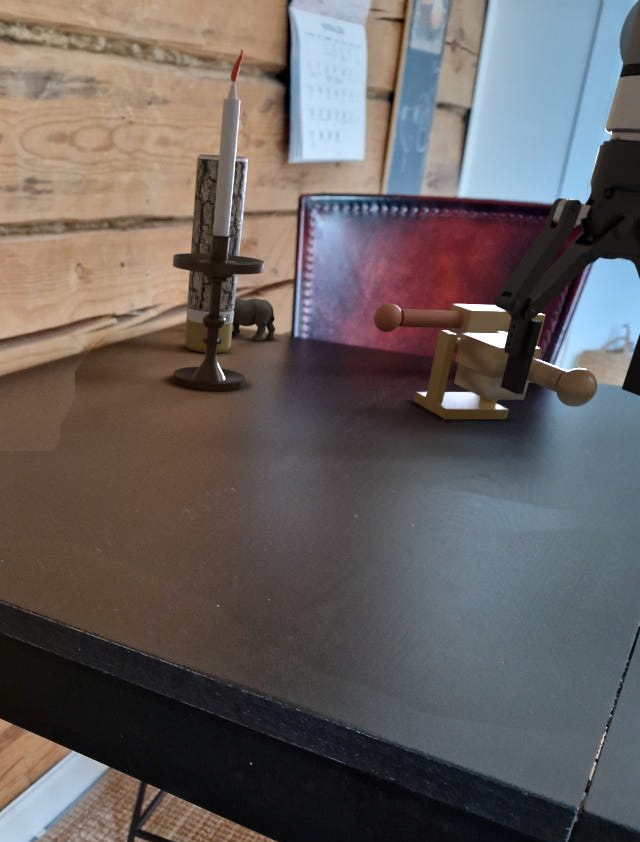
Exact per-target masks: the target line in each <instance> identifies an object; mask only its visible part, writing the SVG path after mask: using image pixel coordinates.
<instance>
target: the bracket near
mask: <svg viewBox="0 0 640 842" xmlns="http://www.w3.org/2000/svg"><path fill="white" fill-rule="evenodd" d="M495 334H503V335H506V336H507V334H508V333H506V332H503V331H496V332H495ZM456 339H457V334H456V333H453V332H451V331H450V330H449V329H440V330H439V332H438V338H437V342H436V347H435V351H434V356H433V362H432V367H431V371H430V375H429V380H428V384H427V390H426V391H415V394H414V395H415V396H414V398H413V399H414V400H413V402H414V403H416V404H418V405H419V406H421V407H423V408H424V409H425V410H427V411H428V412H431V413H433V414H435V415H437V416H439V417H440V418H442V419H443V420H507V418H508V414H509V408H507V407H505V406H503V405H501V404H499V403H498V401H499V400H487V399H485V398H483V397H481V396H479V395H477V394H475V393H473V392H471V391H446V388H447V383H448V380H449V375H450V370H451V366H452V361H453V356H454V353H453V352H454V348H455V343H456Z"/></svg>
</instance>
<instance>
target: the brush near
mask: <svg viewBox="0 0 640 842" xmlns="http://www.w3.org/2000/svg"><path fill="white" fill-rule="evenodd" d="M506 338H507V336H506V335H503V334H482V333H461V337H460V338H457V339H456V343H455V348H454V352H453V354H456V356H455V360H454V363H457V368H456V373H455V377H454V382H453V384H454V385H457V386H459V387H460V388H462V389H464V390H467V391H468V392H473V393H475V394H477V395H479V396H481V397H483V398H485V399H487V400H498V401H506V400H507V401H523V400H525V398H526V395H527V394H526V393H527V390H528V386H529V384H530V383H529V381H531V382H533V383H532V384H536V385H537V386H540V387H543V388H545V389H547V390H550V391H552V392H554V393H556V396H557V399H558V400H559V401H560V402H561V403H562V404H563V405H565V406H567V407H572V408H576V407H578V408H579V407H582V406H584V405H586V404H587V403H589V402H590V401H591V400H593V398H594V397H595V395H596V393H597V391H598V379H597V378H596V376H595V374H594V373H593V372H592V371H590V370H589V369H586V368H583V367H582V368H581V367H578V368H572V369H569V370H567V369H564V368H561V367H559V366H557V365H554V364H551V363H548V362H546V361H543V360H541V359H540V357H541V353H542V350H543V349H542V348H541V347H539V346H537V347H536V348H535V352H534V356H533V359H532V363H531V367H530V370H529V374H528V377H527V381H526V385H525V388H524V392H523V394H515V393H512V392H510V391H508V390H506V389H504V388H502V387H501V383H502V379H503V375H504V371H505V368H506V364H507V360H508V356H509V354H508V353H505V351H504V345H505V342H506Z"/></svg>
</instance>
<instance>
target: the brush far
mask: <svg viewBox="0 0 640 842" xmlns="http://www.w3.org/2000/svg"><path fill="white" fill-rule="evenodd" d="M451 304H452V305H451V308H450V310H445V309H444V310H443V309H441V310H440V309H409V308H408V309H403V308H400V307H399V306H398V305H397V304H395V303H391V302H387V303H384V304H382V305H380V306H379V307H378V308H377V309H376V311H375V313H374V315H373V321H374V325H375V327H376V328H377V330H379V331H381V332H384V333H390V332H393V331H395V330H396V329H397V328H399V327H400V328H437V329H438V328H440V329H441V328H442V329H447V330H449V331H451V332H453V333H456V334H457V338H460V337H461V333H482V334H495V332H496V331H503V332H506V333H508V330H509V326H510V322H511V315H510V314H508V313H507V312H506V311H505V310H503V309H501V308H498V307H497V306H496V305H495V304H468V303H467V304H466V303H451Z"/></svg>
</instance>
